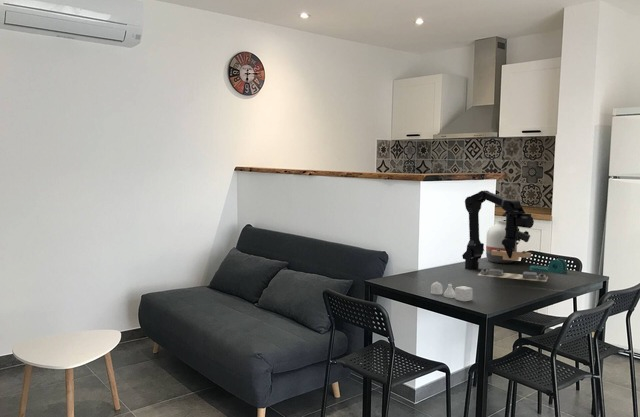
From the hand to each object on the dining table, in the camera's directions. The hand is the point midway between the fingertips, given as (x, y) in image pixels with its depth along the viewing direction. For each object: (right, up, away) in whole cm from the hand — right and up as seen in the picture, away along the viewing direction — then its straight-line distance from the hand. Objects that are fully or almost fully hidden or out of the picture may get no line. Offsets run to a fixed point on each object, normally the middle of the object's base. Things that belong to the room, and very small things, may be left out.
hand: (510, 257), depth 259 cm
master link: (0, -1, 0) cm, 1 cm away
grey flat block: (+11, -10, -1) cm, 15 cm away
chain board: (+2, -11, +3) cm, 11 cm away
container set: (-38, -14, -34) cm, 53 cm away
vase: (+12, -7, +49) cm, 51 cm away
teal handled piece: (+26, -10, +18) cm, 33 cm away
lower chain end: (-7, -9, +8) cm, 14 cm away
